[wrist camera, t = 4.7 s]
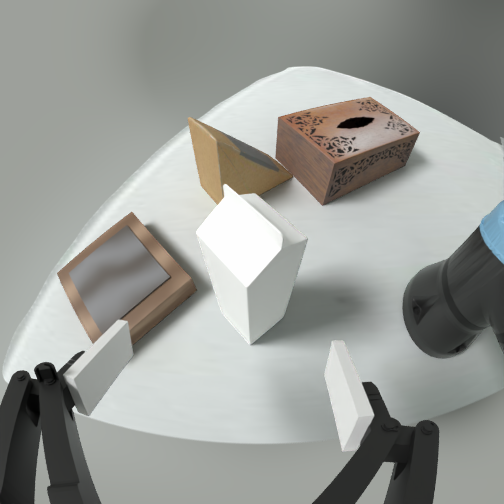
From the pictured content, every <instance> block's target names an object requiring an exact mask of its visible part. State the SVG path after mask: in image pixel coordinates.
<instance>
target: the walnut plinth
mask: <svg viewBox="0 0 504 504" xmlns="http://www.w3.org/2000/svg"><path fill="white" fill-rule="evenodd" d="M57 274H58V277H59V279H60V281H61V284H62V286H63V288H64V290H65V292H66V294H67V296H68V298H69V300H70V303H71V305H72V307H73V309H74V310H75V312H76V314H77V316H78V318H79V320H80V322H81V324H82V326H83V327H84V329H85V331H86V333H87V334H88V336H89V338H90V340H91V341H92V343H93V344H94V343H95V342H96V341H97V340H98V339H99V338H100V337H101V336H102V335H103V334H104V333H105V332H106V331H107V330H108V329H109V328H110V327H111V326H112V325H113V324H114V323H115V322H116V321H117V320H118V319H119V320H124V321H128V325H129V332H130V338H131V344H132V345H134V344H135V343H136V342H137V341H138V340H139V339H141V338H142V337H143V336H144V335H145V334H146V333H148V332H149V331H150V330H151V329H152V328H153V327H155V326H156V325H157V324H158V323H159V322H160V321H162V320H163V319H164V318H165V317H166V316H167V315H169V314H170V313H171V312H172V311H173V310H174V309H176V308H177V307H178V306H179V305H180V304H182V303H183V302H184V301H185V300H186V299H187V298H189V297H190V296H191V295H192V294H193V293H194V292H196V291H197V289H196V287H195V285H194V283H193V280H192V278H191V277H190V276H189V275H188V274H187V273H186V272H185V271H184V270H183V269H182V267H181V266H180V265H179V264H178V263H177V262H176V261H175V260H174V259H173V258H172V257H171V256H170V254H169V253H168V252H167V251H166V250H165V249H164V248H163V247H162V246H161V244H160V243H159V242H158V241H157V240H156V239H155V238H154V237H153V235H152V234H151V233H150V232H149V231H148V230H147V229H146V227H145V226H144V225H143V224H142V223H141V222H140V221H139V219H138V218H137V217H136V216H135V215H134V214H133V212H131V213H129V214H128V215H127V216H125V217H124V218H123V219H122V220H120V221H119V222H118V223H116V224H115V225H114V226H112V227H111V228H110V229H109V230H107V231H106V232H105V233H104V234H102V235H101V236H100V237H99V238H97V239H96V240H95V241H94V242H93V243H91V244H90V245H89V246H88V247H87V248H85V249H84V250H83V251H82V252H81V253H79V254H78V255H77V256H76V257H75V258H74V259H73V260H71V261H70V262H69V263H68V264H67V265H66V266H65V267H64V268H62V269H61V270H60V271H59V272H58V273H57Z"/></svg>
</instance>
